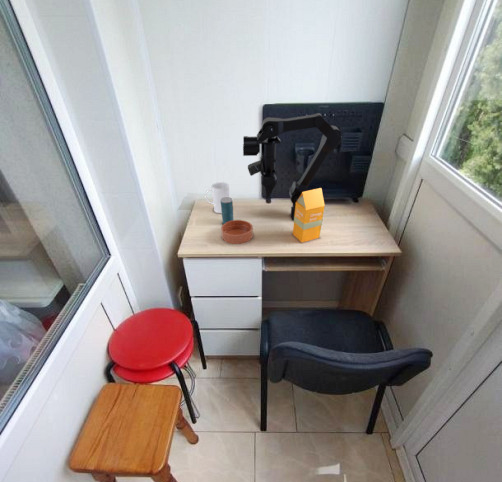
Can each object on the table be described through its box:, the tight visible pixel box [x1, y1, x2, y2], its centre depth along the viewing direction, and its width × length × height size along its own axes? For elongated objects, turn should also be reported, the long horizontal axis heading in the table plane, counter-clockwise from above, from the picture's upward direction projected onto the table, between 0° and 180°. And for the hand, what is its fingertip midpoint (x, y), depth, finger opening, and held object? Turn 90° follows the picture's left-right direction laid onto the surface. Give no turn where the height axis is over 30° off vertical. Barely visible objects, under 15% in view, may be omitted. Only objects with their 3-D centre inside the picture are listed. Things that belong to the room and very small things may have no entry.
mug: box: [204, 181, 230, 214], centre depth 137 cm, size 12×8×12 cm
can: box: [221, 196, 235, 225], centre depth 127 cm, size 5×5×12 cm
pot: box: [220, 219, 254, 245], centre depth 121 cm, size 13×13×4 cm
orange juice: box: [292, 187, 326, 243], centre depth 115 cm, size 8×9×20 cm
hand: (267, 193), depth 126 cm, fingers open, 9 cm apart
